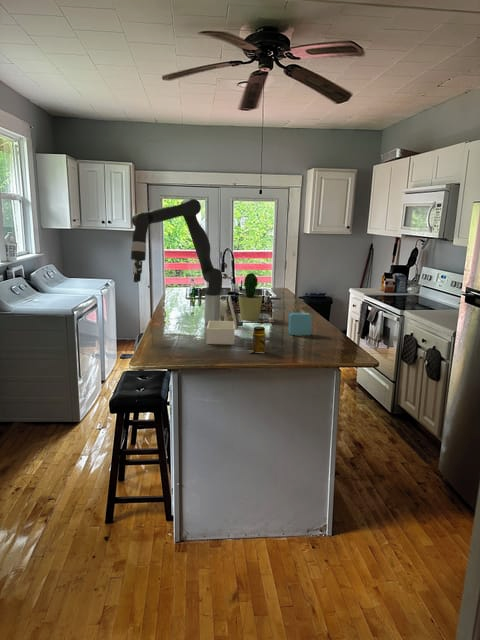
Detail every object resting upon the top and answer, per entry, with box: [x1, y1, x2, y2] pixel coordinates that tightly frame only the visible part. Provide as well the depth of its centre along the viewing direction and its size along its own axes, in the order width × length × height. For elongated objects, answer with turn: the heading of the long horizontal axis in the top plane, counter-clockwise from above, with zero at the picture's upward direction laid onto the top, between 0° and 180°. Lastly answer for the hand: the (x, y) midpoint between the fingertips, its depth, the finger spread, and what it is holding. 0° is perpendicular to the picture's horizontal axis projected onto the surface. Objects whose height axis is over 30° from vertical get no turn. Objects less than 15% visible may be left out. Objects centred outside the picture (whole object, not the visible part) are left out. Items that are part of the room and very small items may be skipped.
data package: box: [288, 312, 313, 337], centre depth 248 cm, size 12×4×12 cm, turn 95°
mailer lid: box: [228, 294, 237, 330], centre depth 232 cm, size 14×18×1 cm
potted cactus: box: [238, 272, 264, 322], centre depth 283 cm, size 15×15×30 cm
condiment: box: [251, 326, 266, 352], centre depth 213 cm, size 7×8×12 cm
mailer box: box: [206, 320, 236, 345], centre depth 234 cm, size 14×18×8 cm
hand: (136, 281), depth 236 cm, fingers open, 8 cm apart
